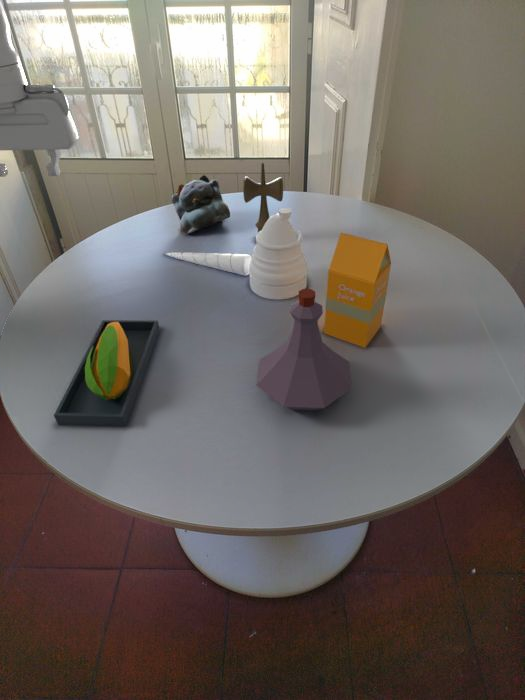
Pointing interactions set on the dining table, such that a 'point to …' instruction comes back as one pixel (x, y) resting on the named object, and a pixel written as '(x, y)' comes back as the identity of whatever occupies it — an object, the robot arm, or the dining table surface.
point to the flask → (304, 363)
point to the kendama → (262, 194)
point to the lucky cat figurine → (199, 204)
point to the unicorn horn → (218, 261)
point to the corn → (110, 364)
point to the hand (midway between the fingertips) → (28, 175)
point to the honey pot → (278, 259)
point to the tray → (96, 411)
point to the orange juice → (356, 289)
